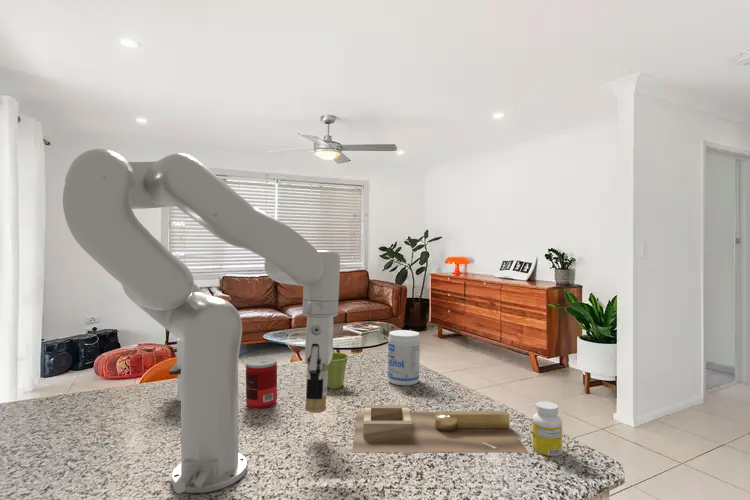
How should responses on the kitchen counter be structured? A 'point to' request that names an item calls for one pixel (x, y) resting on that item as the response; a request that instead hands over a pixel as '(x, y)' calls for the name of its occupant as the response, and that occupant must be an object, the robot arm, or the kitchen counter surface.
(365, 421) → the socket
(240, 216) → the robot arm
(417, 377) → the supplement tub
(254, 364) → the canned food
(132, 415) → the kitchen counter surface
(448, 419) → the lever
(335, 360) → the plant pot
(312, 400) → the spice jar
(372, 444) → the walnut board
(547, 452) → the supplement bottle
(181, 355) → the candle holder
